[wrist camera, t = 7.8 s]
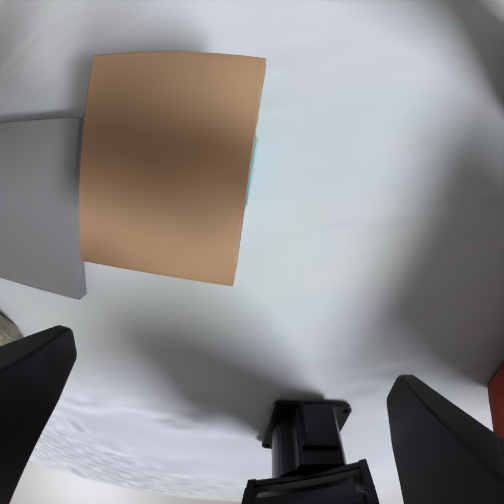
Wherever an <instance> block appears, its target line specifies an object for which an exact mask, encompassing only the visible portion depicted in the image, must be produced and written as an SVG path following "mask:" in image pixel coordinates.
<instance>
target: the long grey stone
mask: <svg viewBox="0 0 504 504" xmlns="http://www.w3.org/2000/svg"><path fill="white" fill-rule="evenodd" d="M21 338H24V337H23V336H22V335H21V333H20V331H19V329H18V328H17V326H16V325H15V324H14V323H12V322H10V321H9V319H8V318H5V317H3V316H2V315H1V314H0V346H2V345H5V344H7V343H10V342H13V341H16V340H19V339H21Z"/></svg>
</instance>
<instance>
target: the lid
mask: <svg viewBox="0 0 504 504" xmlns="http://www.w3.org/2000/svg"><path fill="white" fill-rule="evenodd" d="M265 67H266V58H259V57H251V56H242V55H231V54H219V53H202V52H133V53H117V54H105V55H95V56H94V58H93V63H92V68H91V74H90V80H89V86H88V92H87V99H86V107H85V115H84V124H83V134H82V146H81V161H80V185H79V229H80V253H81V261H86V262H91V263H97V264H102V265H107V266H113V267H118V268H124V269H129V270H135V271H141V272H147V273H153V274H158V275H164V276H170V277H176V278H183V279H189V280H195V281H202V282H208V283H215V284H221V285H228V286H233V283H234V278H235V273H236V268H237V261H238V253H239V246H240V239H241V232H242V224H243V217H244V210H245V203H246V196H247V189H248V182H249V175H250V168H251V162H252V155H253V148H254V141H255V135H256V128H257V121H258V115H259V108H260V102H261V95H262V89H263V82H264V76H265Z"/></svg>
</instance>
